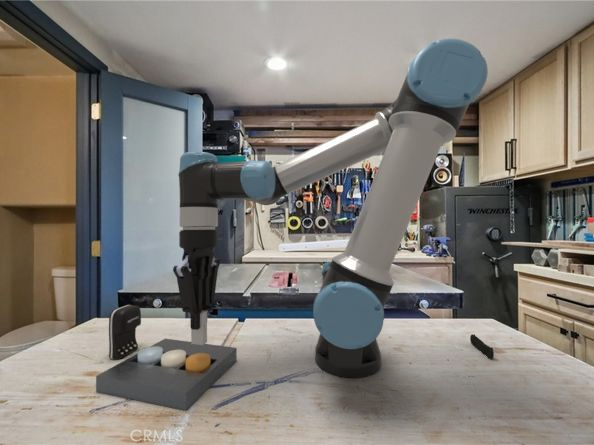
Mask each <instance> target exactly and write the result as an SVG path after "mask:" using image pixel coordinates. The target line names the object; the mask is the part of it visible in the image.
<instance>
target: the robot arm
mask: <svg viewBox="0 0 594 445" xmlns="http://www.w3.org/2000/svg"><path fill="white" fill-rule="evenodd" d="M488 72H489V71H488V64H487V61H486V59H485V57H484V56H483V55H482V54H481V51H480V49H478V48H477V47H476V46H475V45H473V44H472V43H470V42H468V41H465V40H462V39H459V38H443V39H438V40H436V41H433V42H431V43H429V44H427V45H426V46H424V47H423V48H422V49H420V50H419V51H418V53H417V54H416V55H415V57H414V58H413V59H412V61H411V62H410V63H409V65H408V67H407V71H406V76H405V79H404V81H403V83H402V86H401V88H400V91H399V93H398V95H397V98H396V99H395V100H394V101H393V102H392V103H391V104H389V106H387V107H386V108H384V109H382V110H380V111H377V112H376V113H375V115H374V118H373V119H371V120H369V121H367V122H365V123H363V124H360V125H357V127H354V128H352V129H350V130H348V131H346V132H344V133H342V134H340V135H338V136H335V137H333V138H330V139H329V140H327V141H325V142H323V143H321V144H318V145H316V146H314V147H312V148H310V149H308V150H306V151H304V152H302V153H299V154H298V155H294V156H293V157H291V158H289V159H287V160H284V161H283V162H281V163H278V164H276V165H275V166H273V165H272V163H271V162H269V161H267V160H256V159H251V160H246V161H245V160H244V161H230V162H219V161H218V157H217V156H216V155H215V154H213V153H211V152H210V153H209V152H207V151H206V152H204V151H187V152H184V153H183V154H182V155H181V156H180V159H179V171H178V182H179V227H180V228H182V229H180V231H179V240H178V241H179V242H178V245H179V248H181V249H183V254H182V258H181V260H182V261H181V262H180V264H179V265H174V266H173V267H172V268H173V269H172V271H173V273H174V275H175V277H176V281H177V286H178V292H179V293H178V294H179V298H180V305H181V310H182V312H183V313H189V316H190V323H189V325H190V326H189V327H190V331H191V332H190V333H191V334H190V336H191V337H190V338H191V339H190V340H191V341H190V342H191V344H198V345H204V344H208V311H211V310H212V309H213V307H214V306H213V304H214V303H215V297H216V288H217V280H218V274H219V273H218V271H219V267H220V265H221V259H220V258H215V253H214V249H213V248H216V247H217V246H218V244H219V242H218V241H219V232H218V230H217V229H216V227H218V226H219V220H218V219H219V214H218V209H219V207H218V204H219V203H218V201H219V200H220V201H221V200H222V201H223V200H224V201H225V200H244V201H248V202H252V203H256V204H259V205H261V206H262V205H263V206H271V205H274V204H277V203H278V201H280V199H281V198H284V197H286V196H287V195H288V194H292V193H294V192H296V191H298V190H301V189H302V188H305V187H307V186H309V185H311V184H314V183H316V182H318V181H320V180H323V179H325V178H327V177H329V176H331V175H333V174H336V173H338V172H340V171H343V170H345V169H347V168H350V167H352V166H354V165H356V164H358V163H361V162H362V161H365V160H367V159H370V158H372V157H374V156H376V155H378V154H381V153H383V152H384V154H383V155H382V158H381V161H380V164H379V165H378V168H377V170H376V173H375V176H374V178H373V180H372V183H371V185H370V188H369V190H368V193H367V195H366V198H365V201H364V203H363V205H362V207H361V210H360V213H359V215H358V218H357V219H356V222H355V224H354V227H353V230H352V232H351V234H350V237H349V240H348V242H347V245H346V246H345V250H344V251H343V252H342V253H339V254H337V255H335V256H333V257H332V260H331V262H330V261H326V262H324V263H323V265H322V271H321V276H322V282H321V283H322V285H321V287H320V288H319V291H318V293H317V295H316V296H315V299H314V300H313V301H314V302H313V305H312V308H313V309H312V310H313V311H312V312H313V321H314V324H315V326H316V328H317V330H318V332H319V337H318V339H317V343H316V346H315V349H314V350H315V351H314V352H315V353H314V360H315V363H316V365H317V366H318V367H319V368H320V369H321V370H323V371H324V372H326V373H329V374H331V375H335V376H339V377H343V378H344V377H345V378H364V376H365V377H368V375H369V376H372V375H375V374H376V373H377V372H379V370H381V368H382V352H381V350H380V347H379V343H378V340H377V338H378V336H380V334H381V332H382V329H383V327H384V321H385V310H384V308H385V306H386V303H387V301H388V298H389V296H390V294H391V291H392V288H393V286H394V284H395V283H394V280H393V278H392V276H391V272H390V270H391V268H392V265H393V264H394V263H393V262H394V260H395V257H396V255H397V253H398V250H399V248H400V246H401V243H402V241H403V238H404V236H405V233H406V231H407V229H408V226H409V224H410V221H411V219H412V217H413V215H414V213H415V209H416V207H417V205H418V203H419V201H420V197H421V195H422V193H423V191H424V188H425V185H426V183H427V181H428V179H429V176H430V173H431V171H432V168H433V167H434V164H435V162H436V159H437V157H438V154H439V152H440V150H441V147H442V146H443V145H445V144H447V143H450V142H451V141H454V140H455V138H456V135H457V134H458V131H459V129H460V126H461V124H462V122H463V119H464V117H465V114H466V112H467V110H468V108H469V105H470V104H471V103H472V102H473V101H475V99H476V98H477V97H479V95H480V94H481V92H482V90H483V88H484V86H485V84H486V82H487V78H488V74H489V73H488ZM380 367H381V368H380ZM375 372H376V373H375ZM371 374H372V375H371Z"/></svg>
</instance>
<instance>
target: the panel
mask: <svg viewBox="0 0 594 445" xmlns="http://www.w3.org/2000/svg"><path fill="white" fill-rule="evenodd" d="M155 346H157V347H162V348H163V354H164V353H166V352H168V351H172V350H184V351H185V352H186V359H187V358H188V357H189V356H191V355H193V354H197V353H207V354H209V355H210V367H209V368H207V369H206V370H205V371H204V372H203V373H197V372H191V371H186V362H185V363H183V364H182V365H180V366H179V367H178V368H176V369H173V368H167V367H161V359H160V360H158V361H156V362H155V363H153V364H152V365H149V364H143V363H138V353H136V354H134V355H132V356H131V357H128V358H126V359H124V360H123V361H121V362H119V363H117V364H115V365H114V366H112V367H110V368H109V369H106V370H104V371H103V372H100V373H99V374H97V375H96V377H95V392H96V393H100V394H104V395H109V396H114V397H118V398H123V399H129V400H132V401H139V402H142V403H143V402H144V403H148V404H153V405H156V406H157V405H158V406H162V407H167V408H172V409H175V410H182V411H188V410H189V409H190V408H191V406H192V405H193V404H194V403H196V402H197V401H198V400H199V398H201V396H203V395H204V393H206V392H207V391H208V390H209V389H210V388H211V387H212V386H213V385H214V384H215V383H216V382H217V381H218V380H219V379H220V378H221V377H222V376H223V375H224V374H225V373H226V372H227V371H228V370H229V369H230V368H231V367H232V366H233V365H234V364H235V363H236V362H237V361H238V360H237V358H238V357H237V353H238V352H237V350H238V349H237V348H238V347H235V346H234V347H232V346H227V345H226V346H225V345H219V344H218V345H217V344H210V343H205V344H204V345H198V344H191V341H188V340H180V339H179V340H178V339H172V338H164V339H162V340H160V341H158V342H156V343H154V344H152V345H150V346H149V347H155Z"/></svg>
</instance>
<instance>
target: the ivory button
mask: <svg viewBox="0 0 594 445" xmlns="http://www.w3.org/2000/svg"><path fill="white" fill-rule="evenodd" d="M185 362H186V352H185V351H184V350H172V351H168V352H166V353H164V354H163V355H162V356H161V367H167V368H173V369H176V368H178V367H179V366H180V365H182V364H183V363H185Z"/></svg>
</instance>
